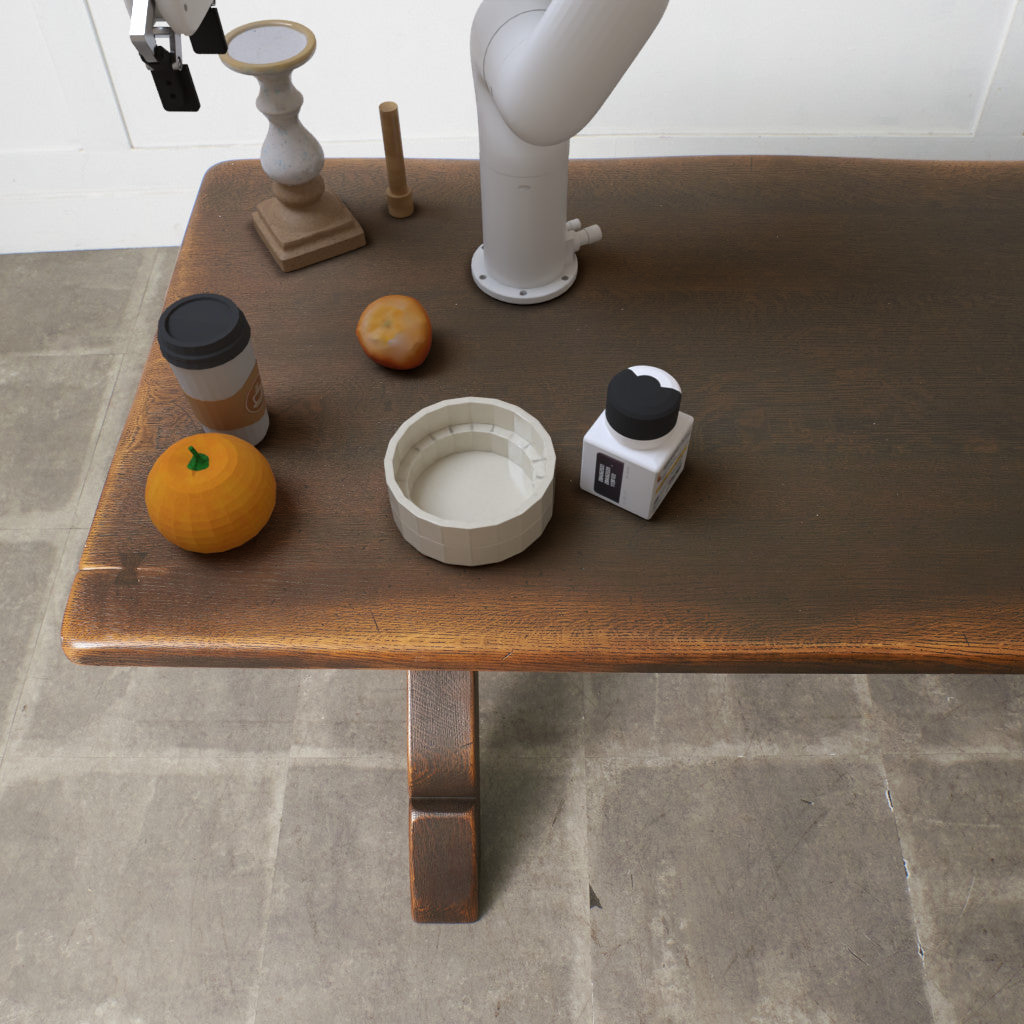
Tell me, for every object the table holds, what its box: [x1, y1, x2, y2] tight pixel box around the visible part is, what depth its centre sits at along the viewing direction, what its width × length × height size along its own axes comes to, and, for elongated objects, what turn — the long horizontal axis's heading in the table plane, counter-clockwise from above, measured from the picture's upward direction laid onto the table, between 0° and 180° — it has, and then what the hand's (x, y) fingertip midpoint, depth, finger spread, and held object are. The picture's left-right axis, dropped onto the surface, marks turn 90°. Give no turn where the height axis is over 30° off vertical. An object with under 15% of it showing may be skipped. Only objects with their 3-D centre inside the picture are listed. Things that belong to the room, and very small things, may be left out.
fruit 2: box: [355, 294, 433, 371], centre depth 101 cm, size 8×8×8 cm
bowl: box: [383, 396, 557, 567], centre depth 88 cm, size 16×16×6 cm
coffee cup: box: [156, 292, 270, 447], centre depth 90 cm, size 8×8×15 cm
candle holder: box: [217, 19, 367, 273], centre depth 106 cm, size 11×11×24 cm
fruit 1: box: [144, 432, 277, 554], centre depth 86 cm, size 12×12×10 cm
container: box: [579, 365, 695, 520], centre depth 87 cm, size 8×8×13 cm
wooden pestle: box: [378, 100, 415, 219], centre depth 113 cm, size 3×3×14 cm
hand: (197, 80), depth 85 cm, fingers open, 9 cm apart
